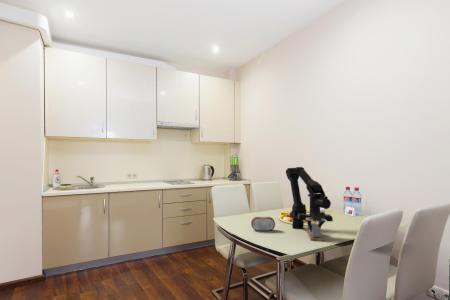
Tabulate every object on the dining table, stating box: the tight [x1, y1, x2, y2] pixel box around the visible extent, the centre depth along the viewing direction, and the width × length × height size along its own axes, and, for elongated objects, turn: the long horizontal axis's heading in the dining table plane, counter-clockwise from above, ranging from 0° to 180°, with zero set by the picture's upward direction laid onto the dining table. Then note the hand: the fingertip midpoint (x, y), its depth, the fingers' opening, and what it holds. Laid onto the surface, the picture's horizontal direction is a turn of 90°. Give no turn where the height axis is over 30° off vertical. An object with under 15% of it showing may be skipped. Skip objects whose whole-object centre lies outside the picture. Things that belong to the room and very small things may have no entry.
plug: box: [309, 221, 322, 237], centre depth 149 cm, size 4×12×5 cm, turn 171°
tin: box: [250, 216, 276, 232], centre depth 160 cm, size 15×3×8 cm, turn 92°
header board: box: [305, 220, 325, 242], centre depth 151 cm, size 7×19×6 cm, turn 170°
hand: (314, 231), depth 149 cm, fingers closed on plug, 4 cm apart
